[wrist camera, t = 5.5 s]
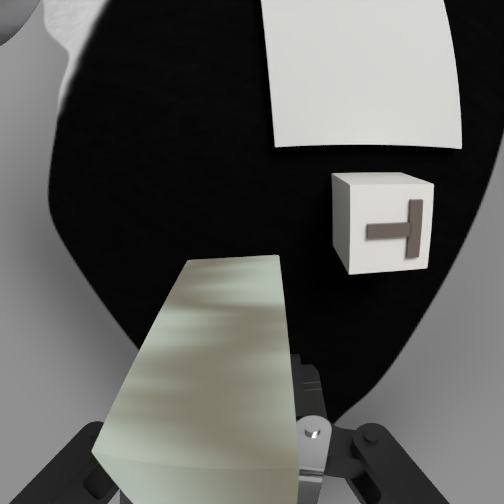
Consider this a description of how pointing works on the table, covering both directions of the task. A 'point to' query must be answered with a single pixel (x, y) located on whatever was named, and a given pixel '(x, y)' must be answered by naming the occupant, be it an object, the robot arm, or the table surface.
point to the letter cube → (381, 221)
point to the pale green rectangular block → (209, 394)
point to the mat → (361, 73)
